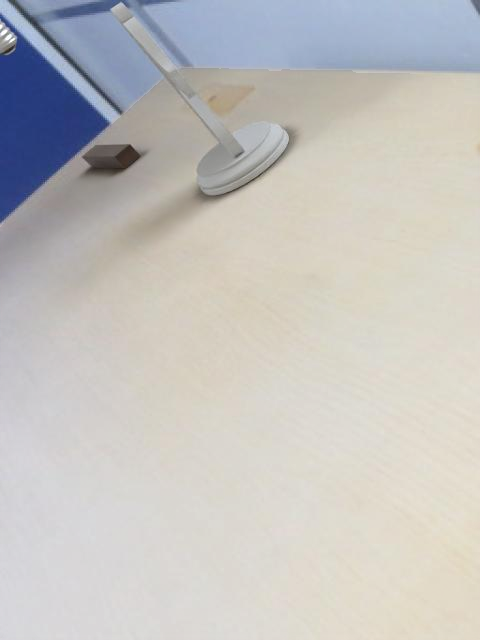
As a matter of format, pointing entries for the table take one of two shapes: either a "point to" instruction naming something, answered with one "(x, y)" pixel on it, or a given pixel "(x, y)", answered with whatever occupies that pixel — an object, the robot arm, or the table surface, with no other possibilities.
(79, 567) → the table surface
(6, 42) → the lightbulb
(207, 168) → the white sign stand
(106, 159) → the walnut stick
